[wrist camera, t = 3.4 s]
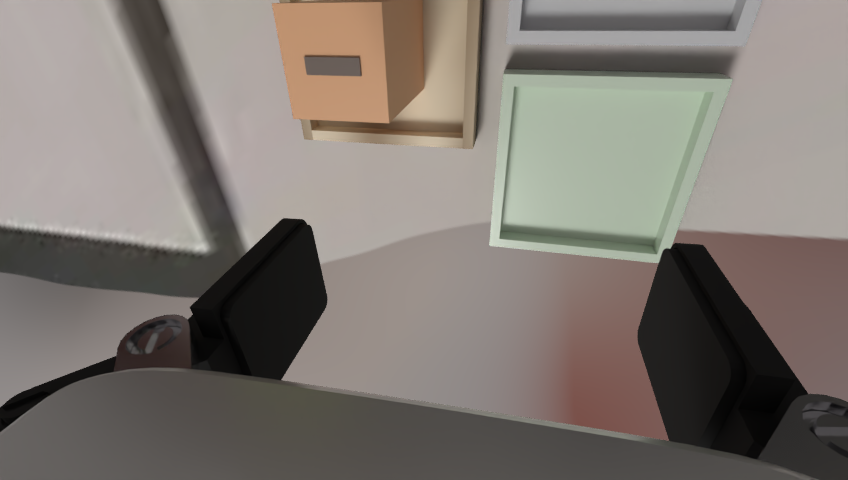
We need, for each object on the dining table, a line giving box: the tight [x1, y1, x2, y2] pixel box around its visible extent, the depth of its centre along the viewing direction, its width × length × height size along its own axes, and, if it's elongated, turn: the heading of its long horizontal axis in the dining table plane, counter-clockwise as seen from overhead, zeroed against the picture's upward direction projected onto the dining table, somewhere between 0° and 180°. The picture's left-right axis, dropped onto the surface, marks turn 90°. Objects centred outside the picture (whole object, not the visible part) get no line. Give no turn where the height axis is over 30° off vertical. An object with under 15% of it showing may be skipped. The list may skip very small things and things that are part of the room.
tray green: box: [489, 69, 733, 263], centre depth 23 cm, size 11×11×2 cm
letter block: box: [272, 0, 424, 123], centre depth 19 cm, size 4×5×7 cm
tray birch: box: [280, 0, 483, 149], centre depth 22 cm, size 11×11×2 cm
